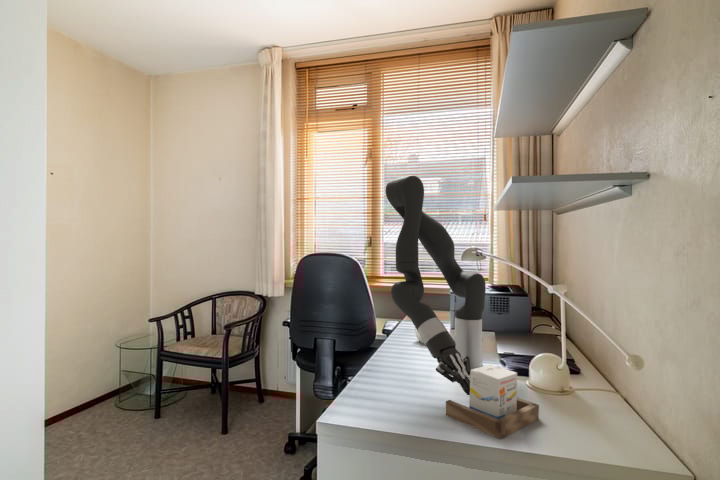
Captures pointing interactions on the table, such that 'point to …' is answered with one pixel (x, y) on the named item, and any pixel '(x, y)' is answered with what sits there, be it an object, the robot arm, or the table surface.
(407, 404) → the table surface
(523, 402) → the walnut corral
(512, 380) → the ink box
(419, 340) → the lidded jar
